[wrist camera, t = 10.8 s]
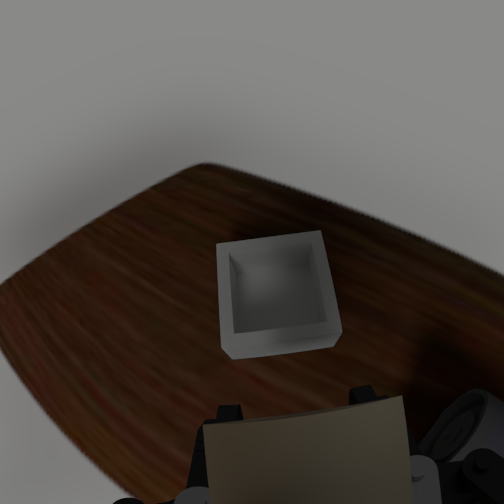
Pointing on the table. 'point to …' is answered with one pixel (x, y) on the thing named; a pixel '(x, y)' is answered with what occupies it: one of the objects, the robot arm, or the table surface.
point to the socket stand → (276, 296)
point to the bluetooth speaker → (466, 428)
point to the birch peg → (312, 457)
